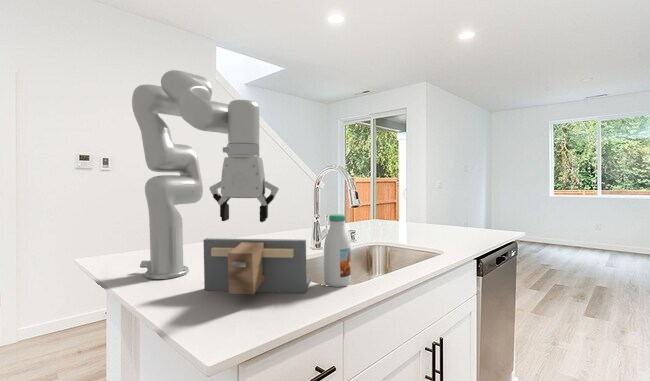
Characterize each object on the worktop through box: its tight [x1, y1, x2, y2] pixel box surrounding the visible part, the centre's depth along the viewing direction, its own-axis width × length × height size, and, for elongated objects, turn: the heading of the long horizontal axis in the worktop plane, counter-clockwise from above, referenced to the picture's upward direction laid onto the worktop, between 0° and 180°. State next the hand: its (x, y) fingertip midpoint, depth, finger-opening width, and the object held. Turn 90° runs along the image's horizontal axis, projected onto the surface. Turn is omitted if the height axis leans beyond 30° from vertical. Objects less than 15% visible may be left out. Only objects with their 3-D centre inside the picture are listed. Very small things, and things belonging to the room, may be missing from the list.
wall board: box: [203, 237, 312, 294], centre depth 95 cm, size 28×12×14 cm, turn 84°
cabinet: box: [228, 242, 265, 295], centre depth 85 cm, size 6×11×10 cm, turn 174°
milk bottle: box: [323, 213, 352, 288], centre depth 97 cm, size 8×8×20 cm
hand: (244, 220), depth 84 cm, fingers open, 9 cm apart
